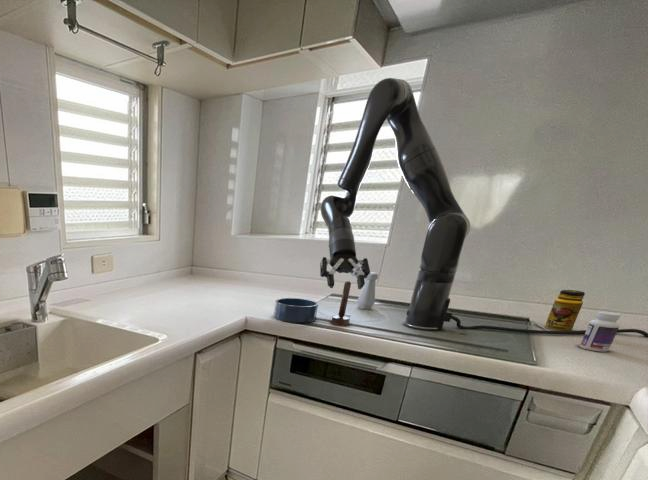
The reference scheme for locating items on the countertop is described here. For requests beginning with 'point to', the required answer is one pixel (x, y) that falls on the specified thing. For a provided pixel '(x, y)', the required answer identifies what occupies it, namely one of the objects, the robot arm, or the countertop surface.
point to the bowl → (295, 310)
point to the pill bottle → (601, 332)
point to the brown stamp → (343, 307)
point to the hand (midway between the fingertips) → (346, 287)
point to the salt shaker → (368, 292)
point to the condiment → (564, 311)
